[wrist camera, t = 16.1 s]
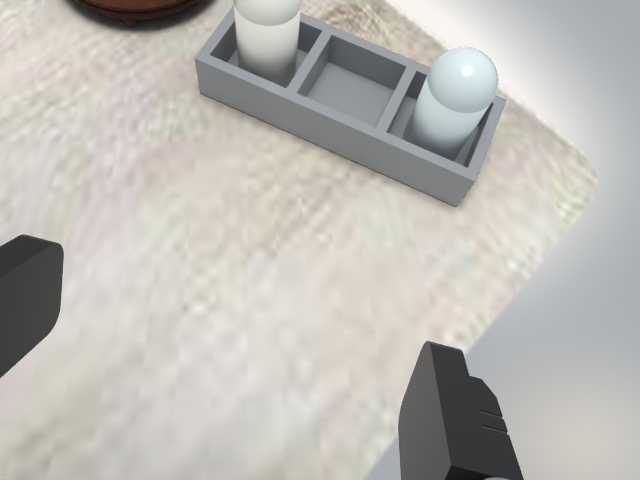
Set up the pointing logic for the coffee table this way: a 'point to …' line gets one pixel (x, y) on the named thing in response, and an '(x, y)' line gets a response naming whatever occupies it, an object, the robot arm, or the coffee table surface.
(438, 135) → the pale blue dome-topped cylinder
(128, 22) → the wooden spool stand
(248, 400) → the coffee table surface
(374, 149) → the tray
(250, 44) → the white cylinder
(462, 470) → the robot arm
